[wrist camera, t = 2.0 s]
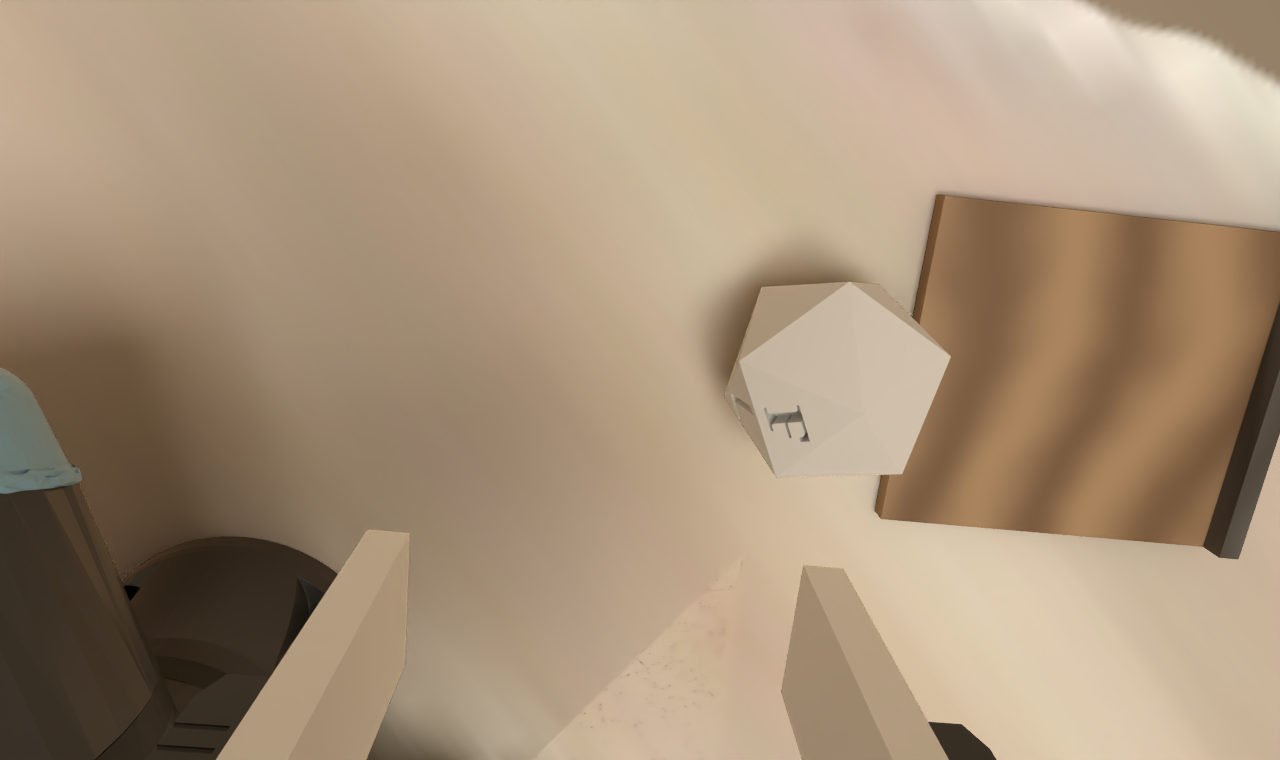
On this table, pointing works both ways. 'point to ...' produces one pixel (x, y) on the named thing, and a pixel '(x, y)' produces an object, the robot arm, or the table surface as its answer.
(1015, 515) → the board
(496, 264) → the table surface
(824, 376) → the die
